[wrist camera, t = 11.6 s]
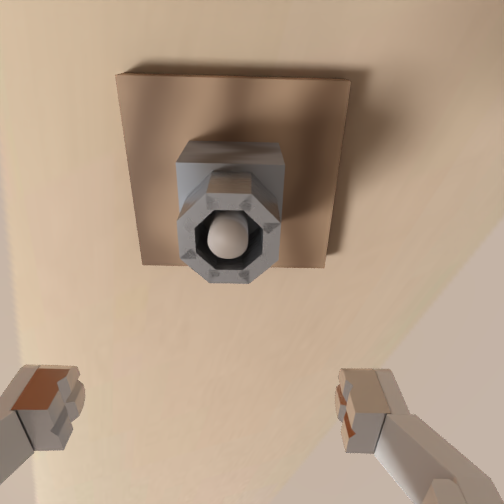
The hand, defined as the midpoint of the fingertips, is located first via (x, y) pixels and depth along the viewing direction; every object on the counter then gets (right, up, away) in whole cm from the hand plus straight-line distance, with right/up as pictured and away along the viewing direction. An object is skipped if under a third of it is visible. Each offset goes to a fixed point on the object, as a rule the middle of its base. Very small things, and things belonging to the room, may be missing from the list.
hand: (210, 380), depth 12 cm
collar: (0, +7, +14) cm, 15 cm away
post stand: (0, +11, +21) cm, 23 cm away
